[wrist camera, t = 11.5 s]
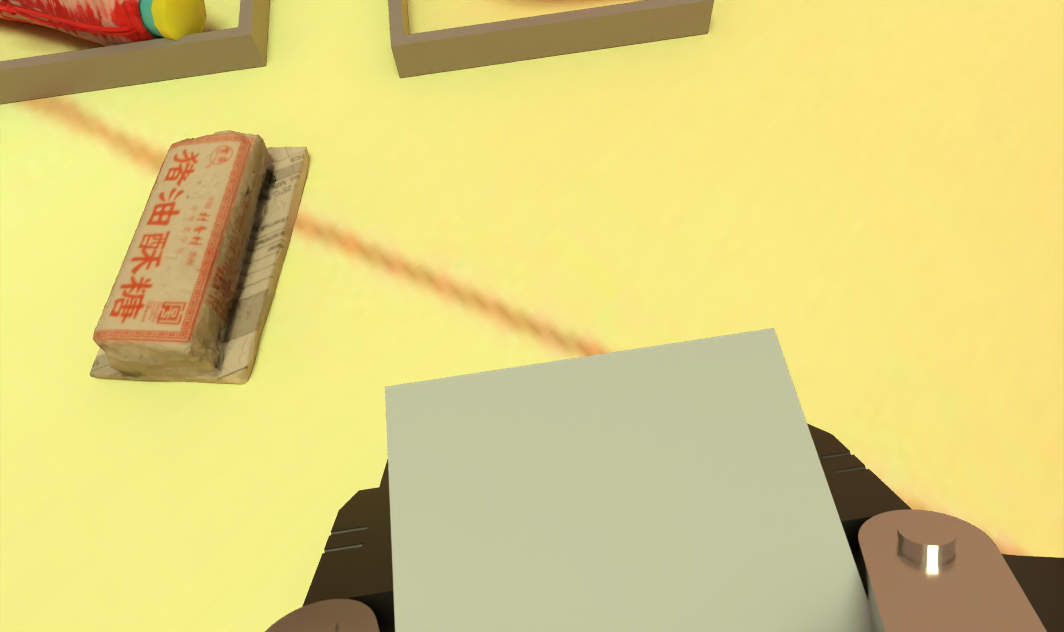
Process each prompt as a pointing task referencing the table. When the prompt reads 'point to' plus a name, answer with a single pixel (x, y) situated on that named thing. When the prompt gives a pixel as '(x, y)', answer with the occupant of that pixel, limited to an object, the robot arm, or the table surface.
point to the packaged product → (203, 263)
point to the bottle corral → (140, 60)
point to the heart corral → (542, 34)
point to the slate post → (617, 498)
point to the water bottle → (111, 18)
